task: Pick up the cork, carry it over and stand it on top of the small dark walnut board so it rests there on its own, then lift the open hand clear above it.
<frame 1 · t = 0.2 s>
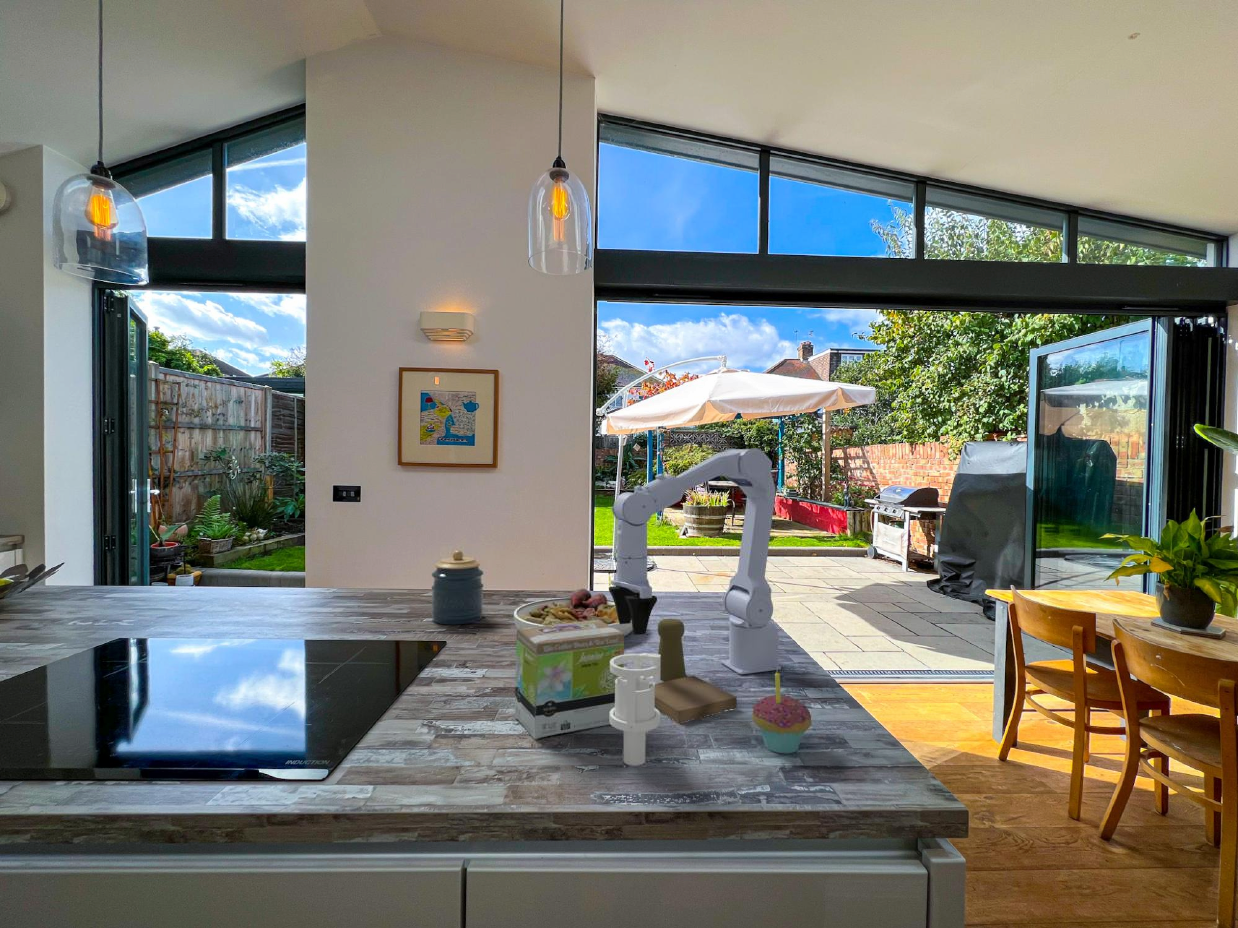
hand: (632, 628, 120), 10 cm above the table, tool pointing down, fingers open, 7 cm apart
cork: (670, 677, 123), on the table
cupcake: (780, 747, 94), on the table
walnut board: (686, 706, 110), on the table
bowl: (576, 632, 155), on the table
canister: (457, 619, 165), on the table
tea box: (568, 721, 102), on the table
white stepped hollow cylinder: (634, 761, 89), on the table
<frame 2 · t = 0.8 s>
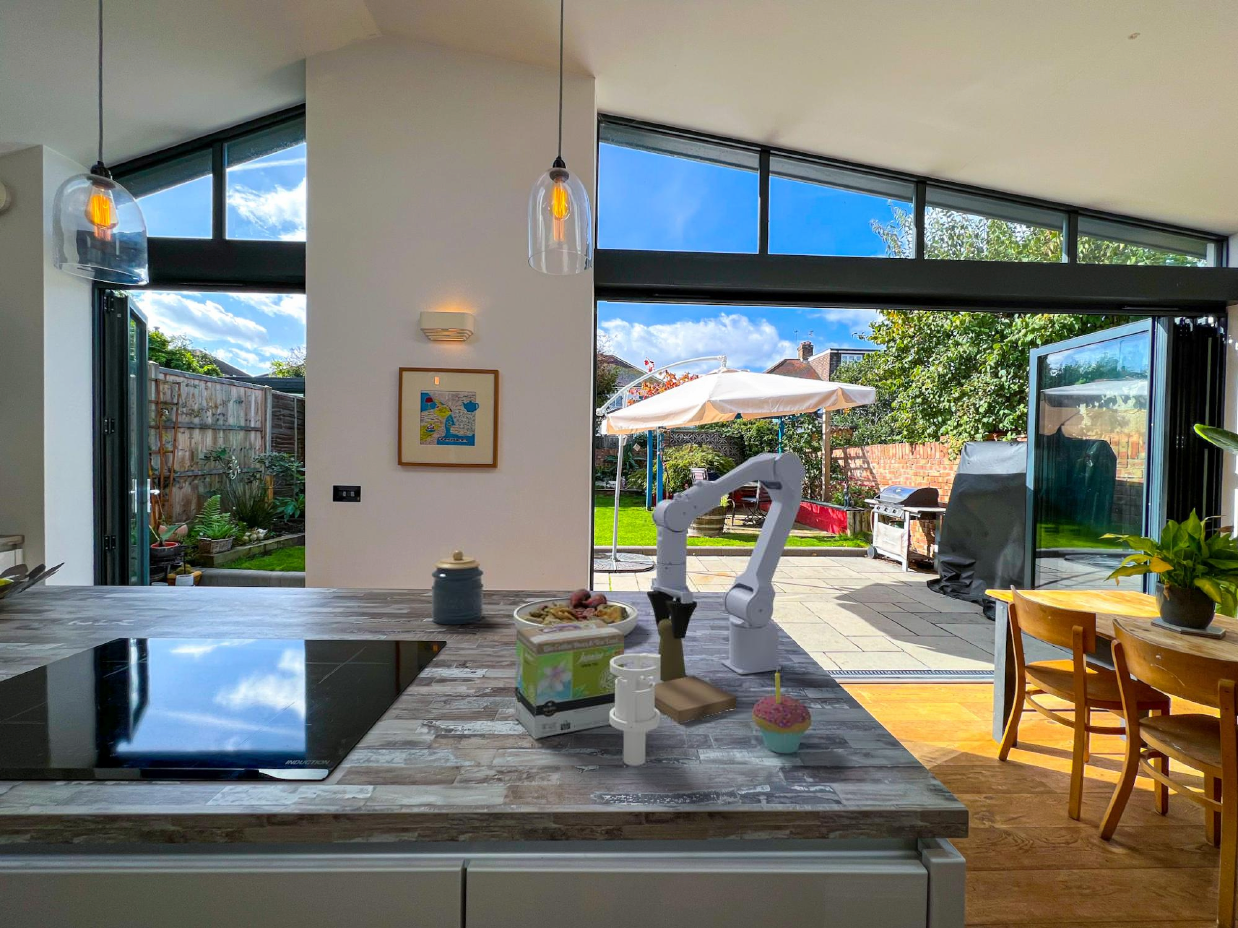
hand: (670, 632, 123), 8 cm above the table, tool pointing down, fingers open, 7 cm apart
nothing on the table moved.
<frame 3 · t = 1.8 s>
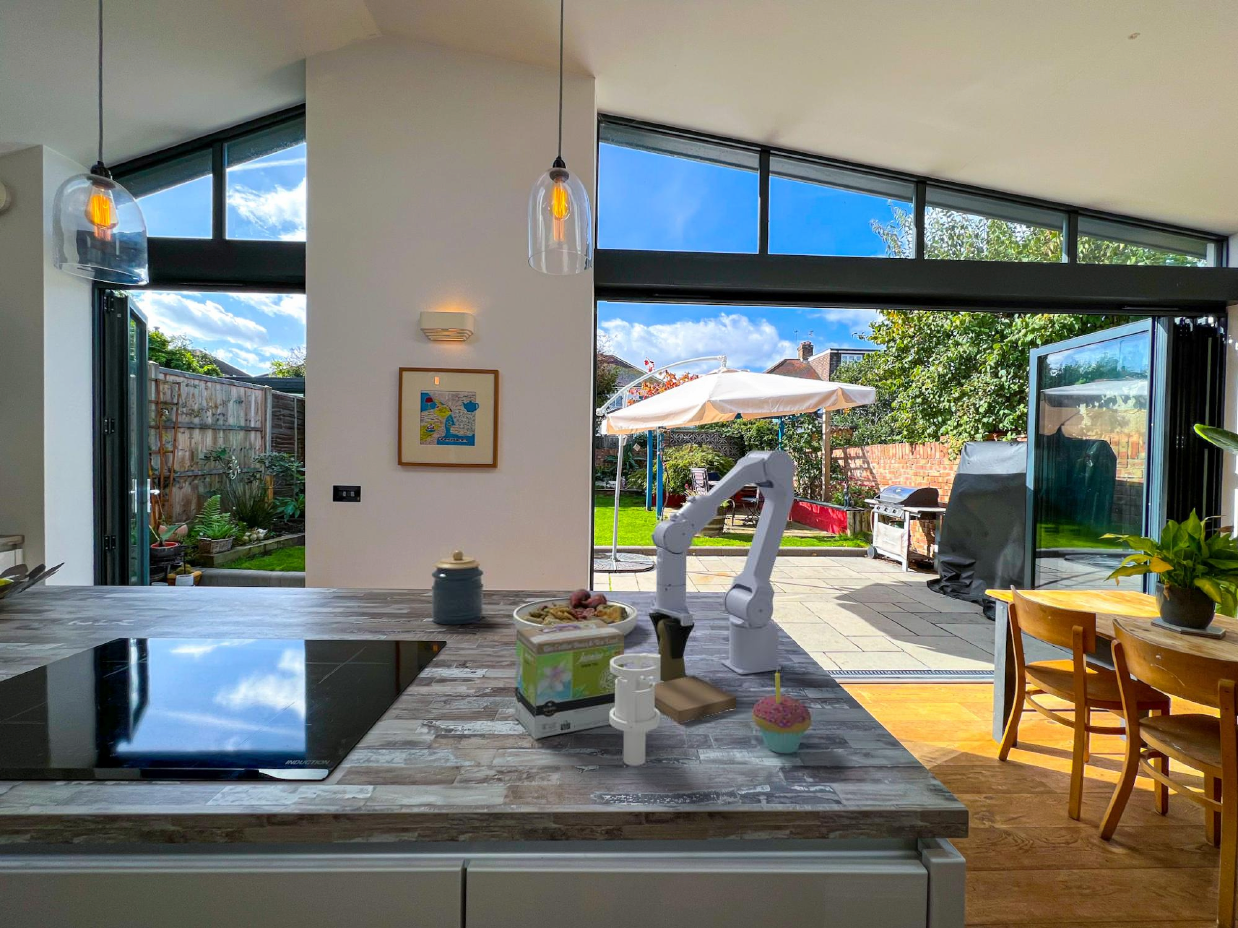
hand: (670, 653, 123), 4 cm above the table, tool pointing down, fingers closed on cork, 5 cm apart
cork: (670, 677, 123), on the table, touching gripper
everything else where it was.
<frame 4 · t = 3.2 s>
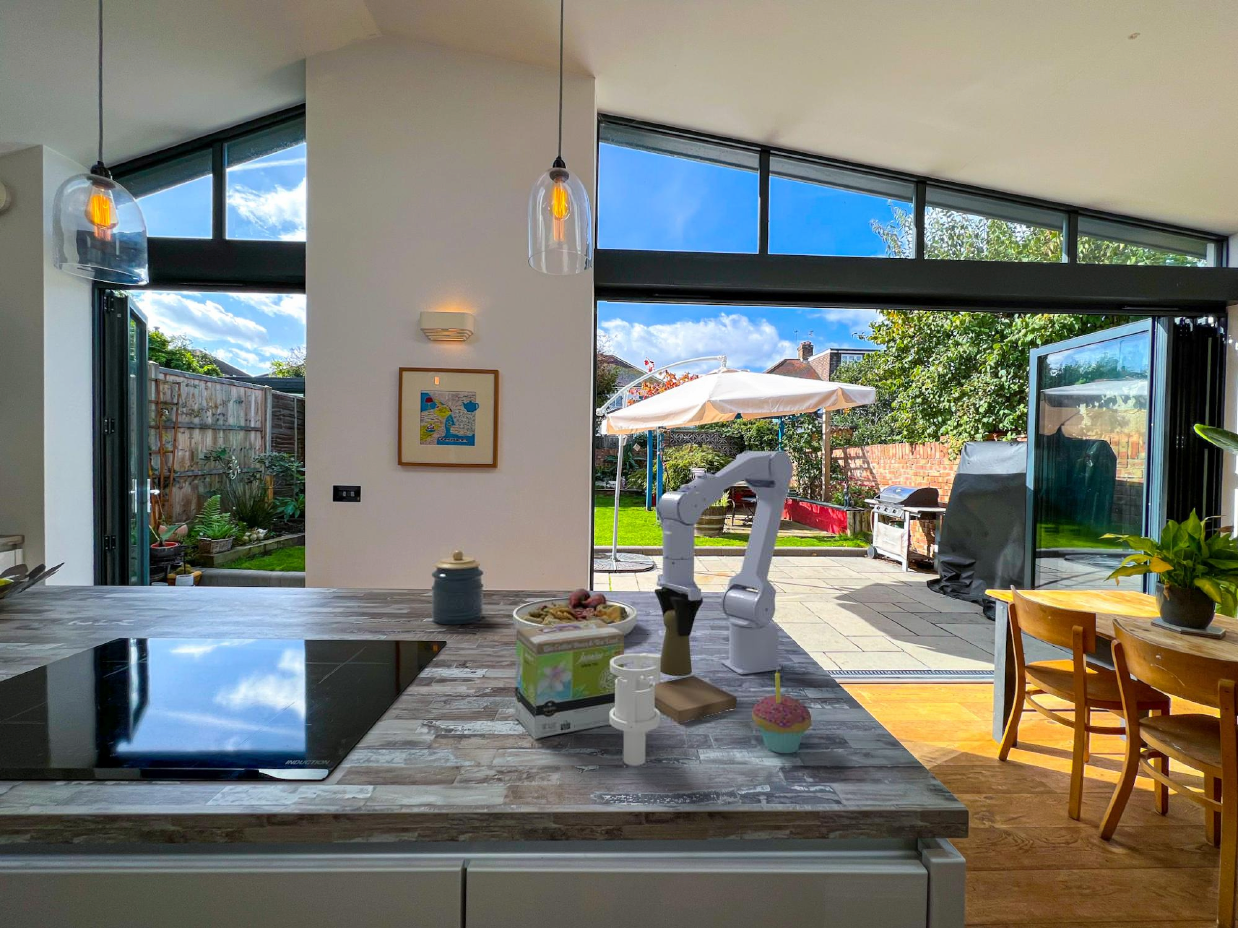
hand: (677, 631, 117), 10 cm above the table, tool pointing down, fingers closed on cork, 5 cm apart
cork: (675, 671, 117), point 3 cm above the table, touching gripper
everything else where it was.
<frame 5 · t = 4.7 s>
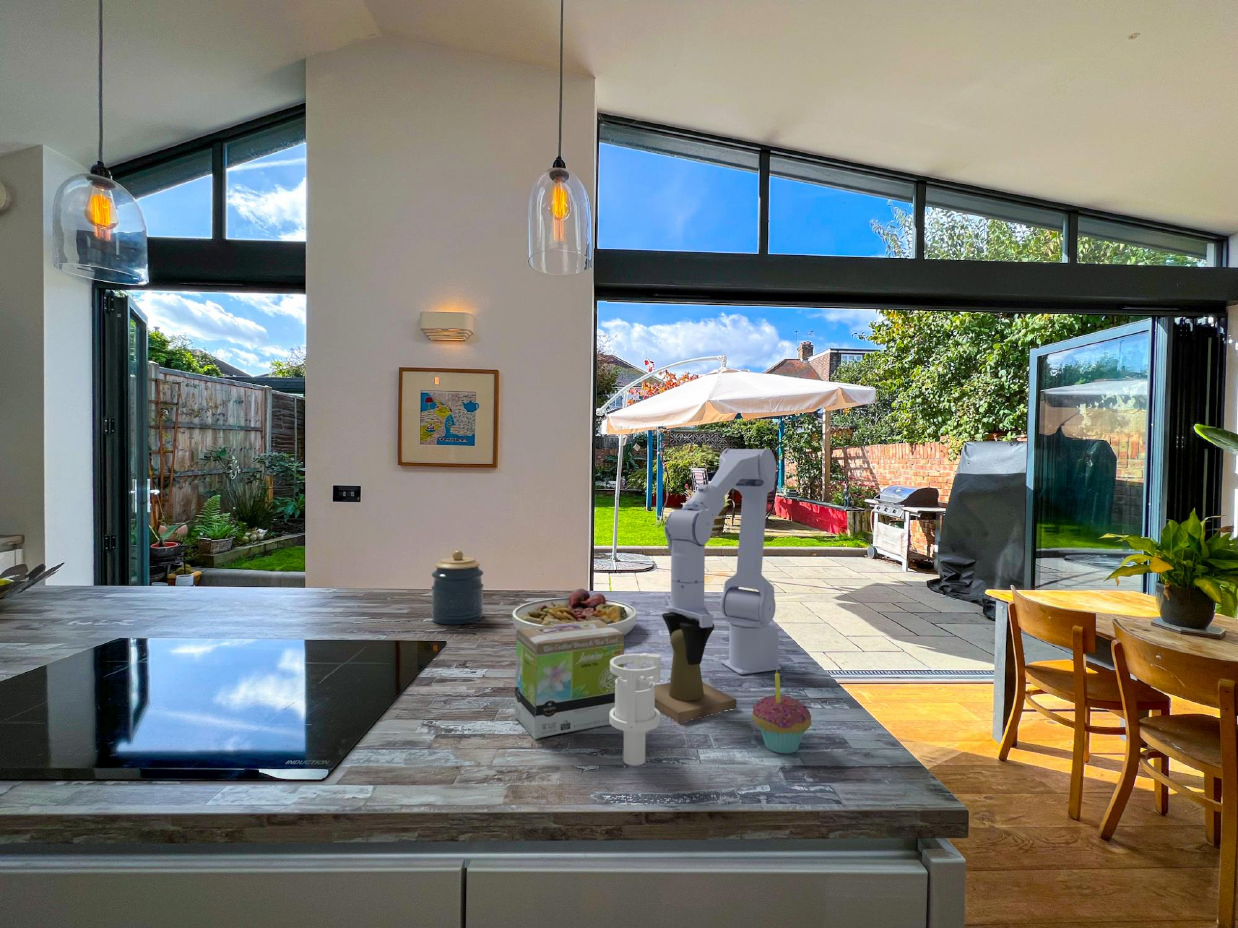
hand: (687, 658, 110), 8 cm above the table, tool pointing down, fingers closed on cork, 5 cm apart
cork: (686, 695, 109), point 2 cm above the table, touching gripper, walnut board
walnut board: (686, 708, 110), on the table, touching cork
everything else where it was.
when the fingers open (8 cm above the table, at t = 5.1 s): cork stays where it is, point 2 cm above the table.
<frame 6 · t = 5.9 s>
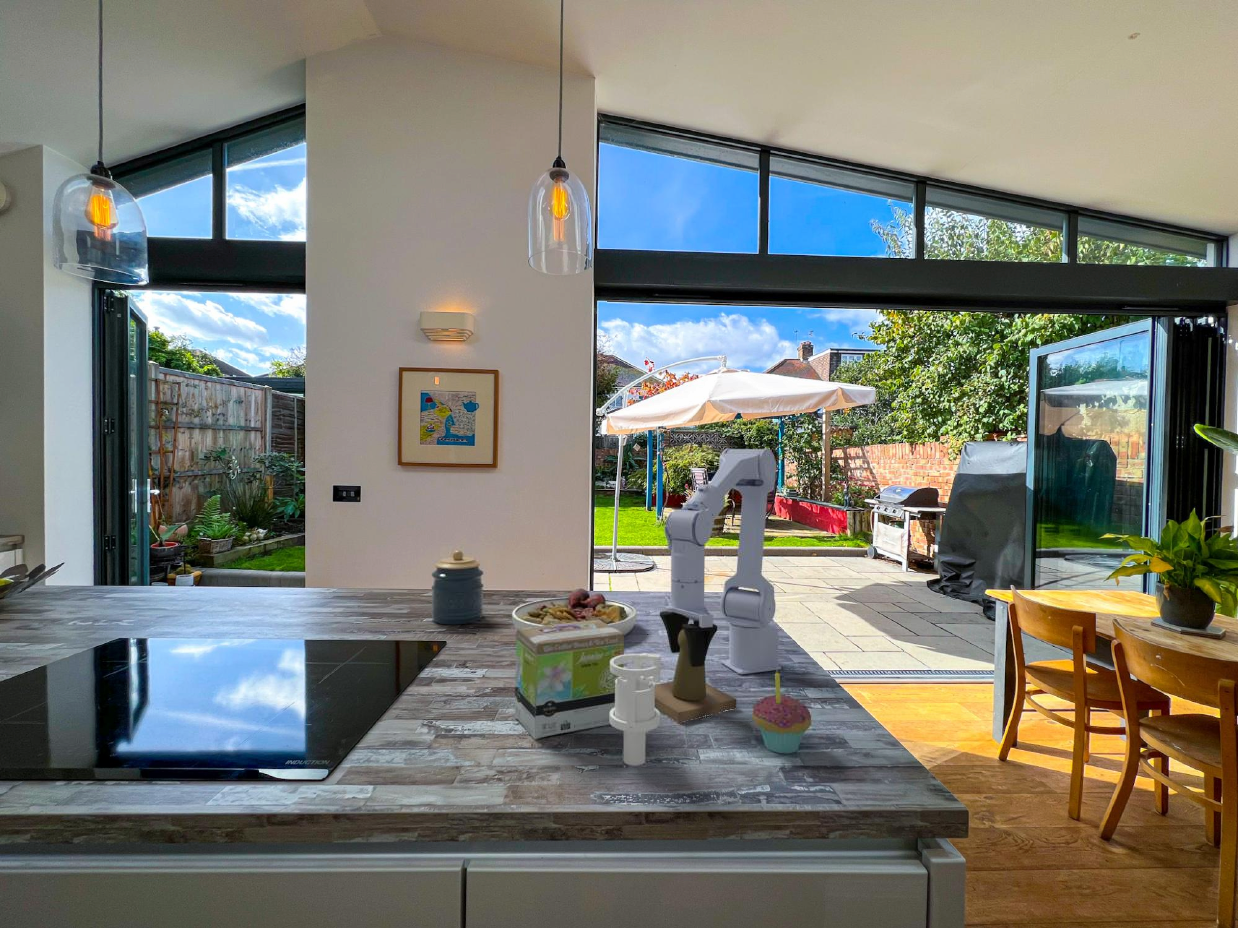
hand: (686, 658, 110), 8 cm above the table, tool pointing down, fingers open, 7 cm apart
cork: (688, 693, 109), point 2 cm above the table, touching gripper
walnut board: (686, 707, 110), on the table
everything else where it was.
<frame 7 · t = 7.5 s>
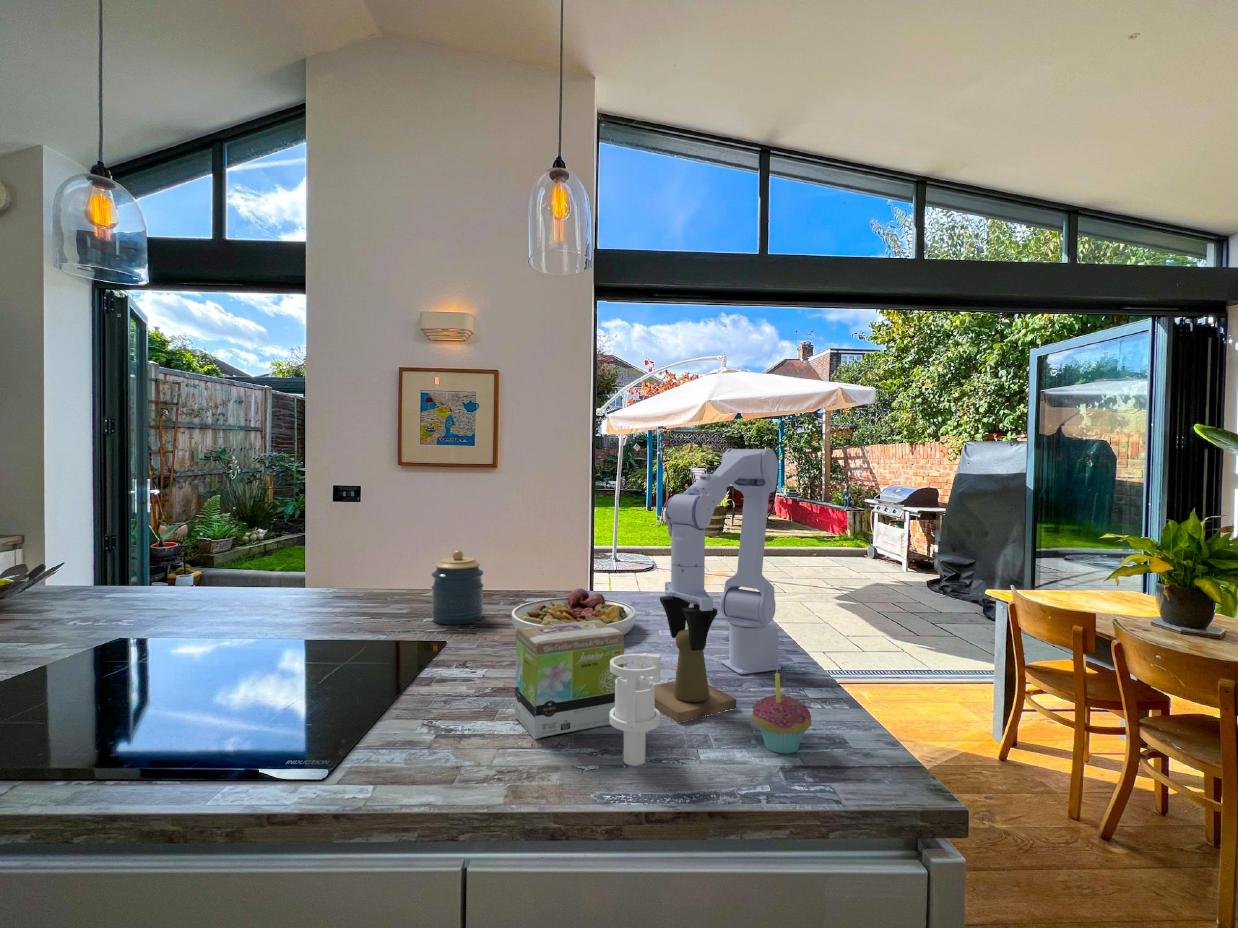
hand: (687, 643, 110), 10 cm above the table, tool pointing down, fingers open, 7 cm apart
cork: (691, 696, 108), point 2 cm above the table, touching gripper, walnut board
walnut board: (686, 708, 110), on the table, touching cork
everything else where it was.
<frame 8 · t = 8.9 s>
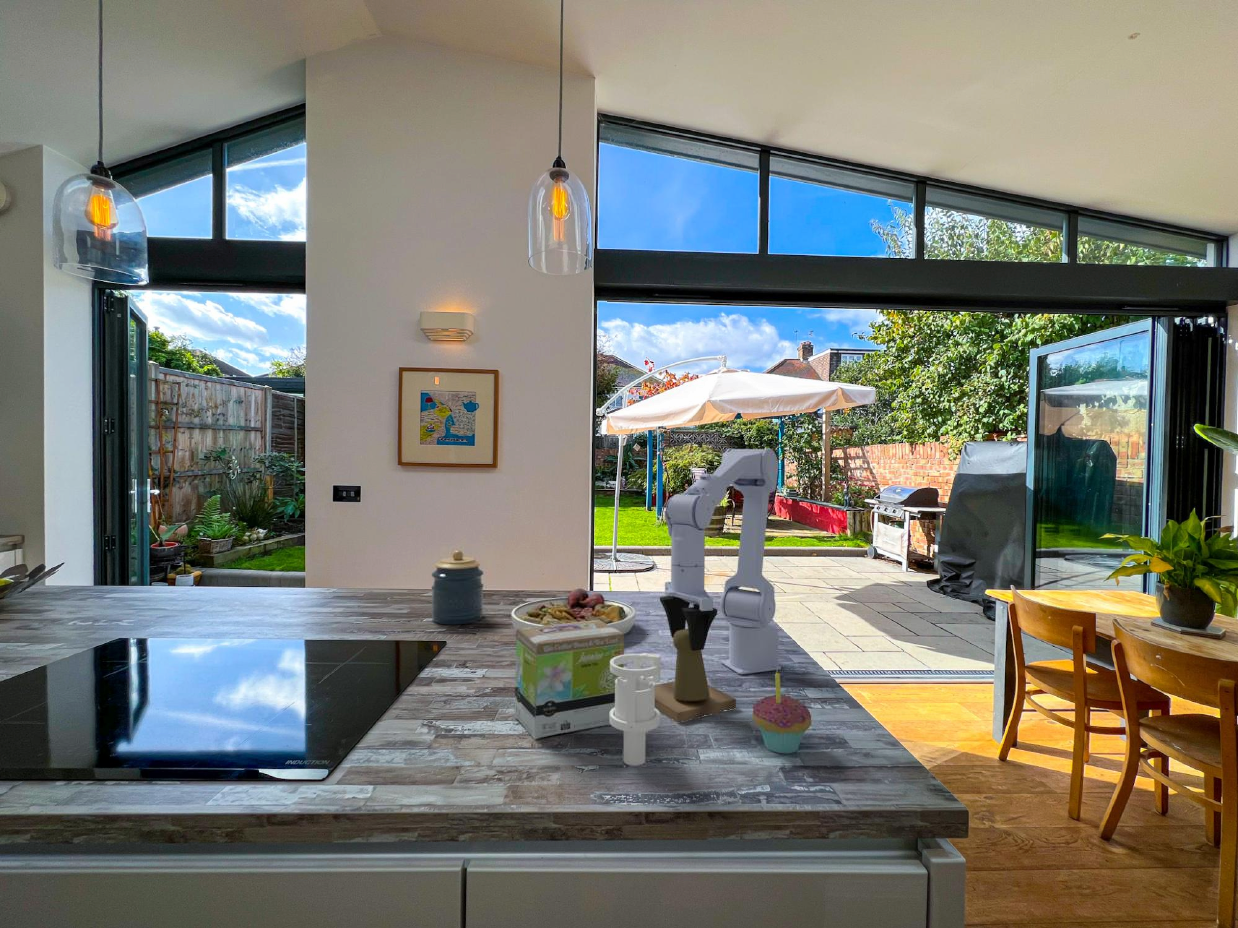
hand: (687, 643, 110), 10 cm above the table, tool pointing down, fingers open, 7 cm apart
nothing on the table moved.
at the end: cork inside the target area on the walnut board (2.4 cm from its centre), point 2.7 cm above the walnut board's base; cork tilted 8°; the gripper is holding nothing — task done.
